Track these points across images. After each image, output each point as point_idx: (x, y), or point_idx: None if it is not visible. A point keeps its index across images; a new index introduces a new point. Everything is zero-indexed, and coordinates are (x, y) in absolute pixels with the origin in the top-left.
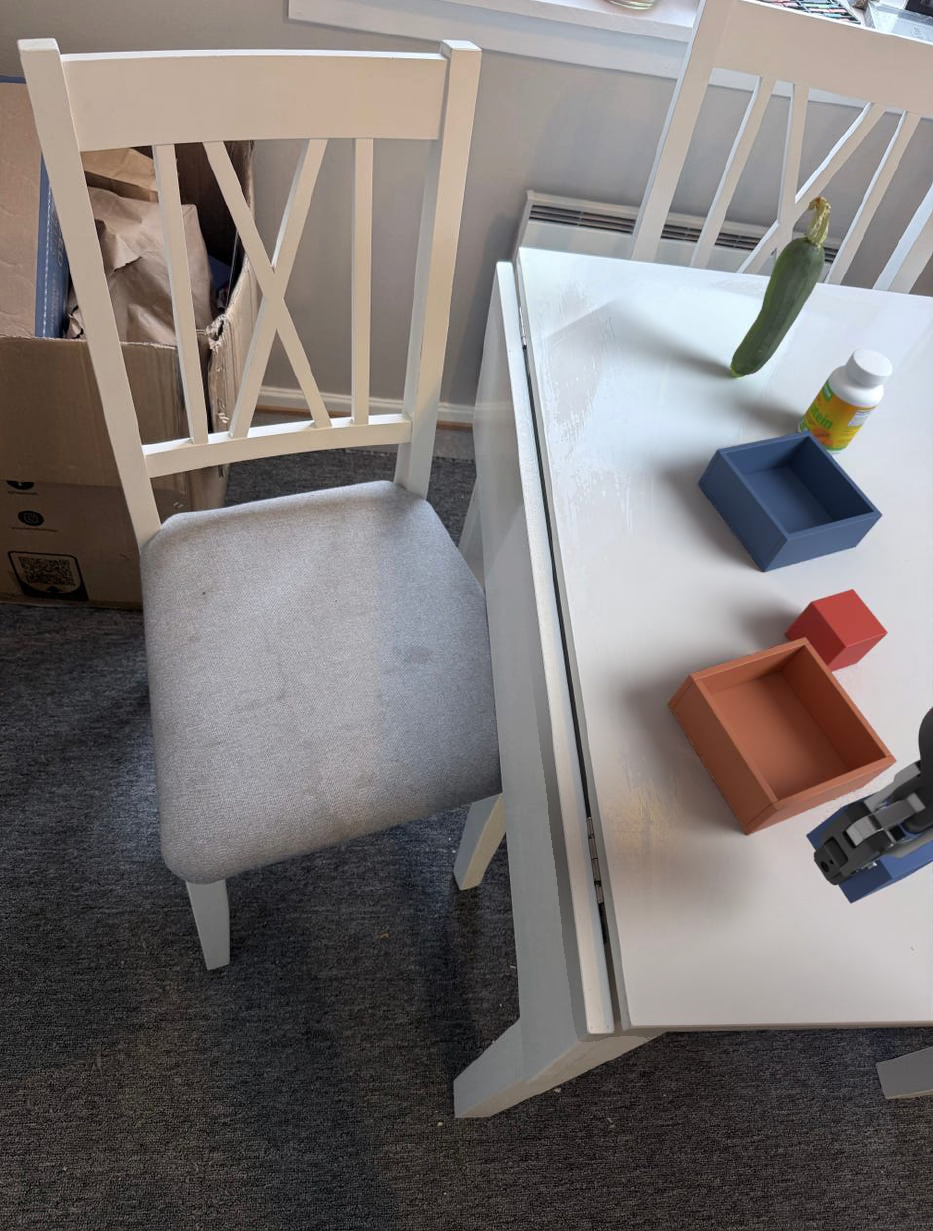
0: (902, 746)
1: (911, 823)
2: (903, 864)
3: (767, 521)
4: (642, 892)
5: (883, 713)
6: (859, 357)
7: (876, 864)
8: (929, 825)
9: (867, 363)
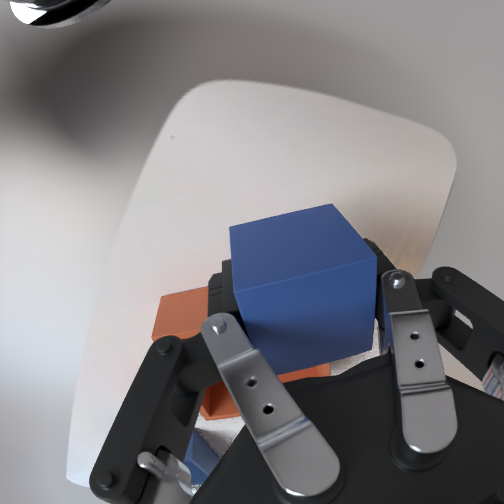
0: (109, 323)
1: None
2: (342, 276)
3: (200, 462)
4: (418, 225)
5: (120, 347)
6: None
7: (396, 281)
8: (463, 407)
9: None
